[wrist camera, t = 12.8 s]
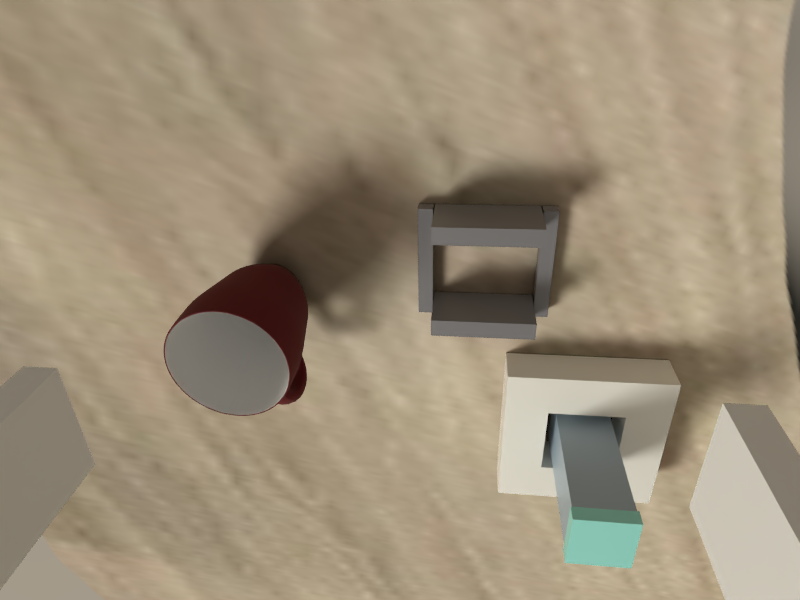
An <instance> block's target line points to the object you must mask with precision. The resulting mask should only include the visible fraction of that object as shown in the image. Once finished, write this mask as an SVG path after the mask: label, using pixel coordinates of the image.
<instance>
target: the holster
mask: <svg viewBox="0 0 800 600" xmlns="http://www.w3.org/2000/svg"><path fill="white" fill-rule="evenodd" d="M559 213H560V211H559V208H558V206H542V208H541V206H530V205H472V204H435V208H434V204H419V206H418V277H419V312H432V317H431V335H436V336H459V337H483V338H506V339H530V340H535V335H536V326H537V324H536V317H535V316H538V317H547V315H548V306H549V298H550V289H551V281H552V272H553V264H554V255H555V247H556V239H557V230H558V222H559ZM434 245H451V246H491V247H530V248H538V254H537V264H536V274H535V283H534V293H533V298H532V295H523V294H494V293H464V292H435V294H434V302H433V288H434Z"/></svg>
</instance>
